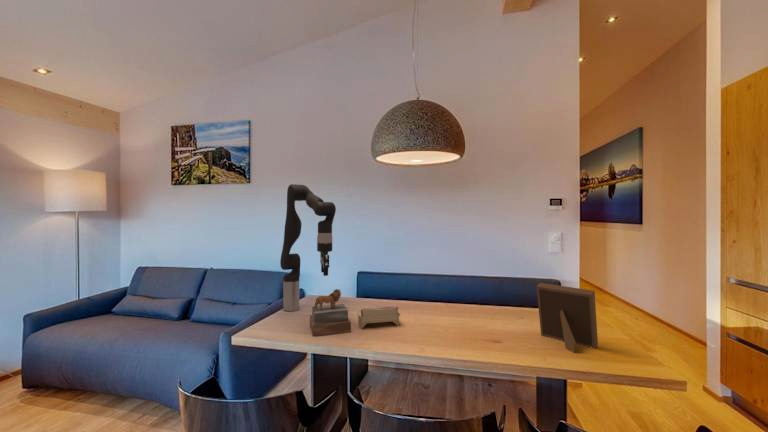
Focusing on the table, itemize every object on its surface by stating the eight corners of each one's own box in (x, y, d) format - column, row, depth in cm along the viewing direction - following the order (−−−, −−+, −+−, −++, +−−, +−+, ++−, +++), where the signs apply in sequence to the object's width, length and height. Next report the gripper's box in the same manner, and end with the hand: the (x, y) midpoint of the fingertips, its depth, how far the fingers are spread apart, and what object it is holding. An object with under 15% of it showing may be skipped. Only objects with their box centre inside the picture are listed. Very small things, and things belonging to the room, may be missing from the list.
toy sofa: (395, 320, 173) (395, 301, 173) (400, 326, 165) (400, 306, 165) (356, 324, 168) (356, 304, 168) (359, 329, 160) (359, 309, 160)
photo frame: (544, 332, 154) (544, 280, 154) (597, 346, 139) (598, 288, 138) (532, 342, 144) (532, 286, 144) (588, 357, 129) (588, 295, 128)
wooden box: (309, 325, 166) (309, 305, 166) (344, 321, 171) (344, 302, 171) (312, 336, 151) (312, 315, 150) (350, 332, 156) (350, 311, 156)
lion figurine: (338, 305, 167) (338, 287, 167) (342, 307, 162) (342, 289, 162) (311, 309, 159) (310, 291, 159) (314, 312, 155) (314, 293, 155)
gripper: (315, 240, 168) (315, 271, 168) (319, 243, 154) (318, 277, 155) (330, 240, 170) (329, 270, 171) (334, 243, 157) (334, 276, 157)
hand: (324, 273), depth 163 cm, fingers open, 8 cm apart
